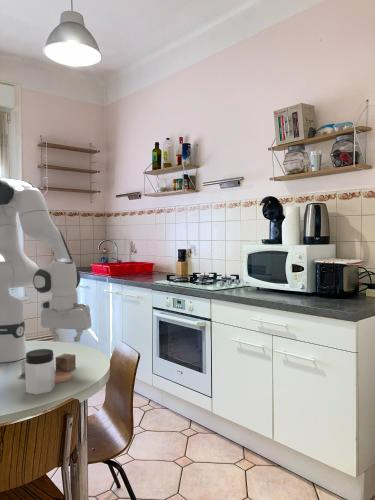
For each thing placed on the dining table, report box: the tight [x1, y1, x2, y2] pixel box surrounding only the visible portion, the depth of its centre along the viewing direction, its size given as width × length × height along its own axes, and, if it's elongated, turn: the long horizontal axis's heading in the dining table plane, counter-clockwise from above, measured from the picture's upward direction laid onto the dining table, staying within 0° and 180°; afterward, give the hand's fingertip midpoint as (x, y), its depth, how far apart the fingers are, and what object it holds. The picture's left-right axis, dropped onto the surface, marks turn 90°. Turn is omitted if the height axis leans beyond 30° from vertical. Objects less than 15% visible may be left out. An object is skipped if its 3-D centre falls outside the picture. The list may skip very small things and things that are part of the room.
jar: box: [24, 348, 56, 396], centre depth 130 cm, size 9×8×12 cm
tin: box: [20, 359, 26, 377], centre depth 145 cm, size 5×5×5 cm
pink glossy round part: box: [54, 371, 73, 384], centre depth 141 cm, size 9×9×1 cm
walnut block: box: [54, 353, 77, 373], centre depth 150 cm, size 5×5×5 cm
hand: (66, 340), depth 150 cm, fingers open, 8 cm apart
